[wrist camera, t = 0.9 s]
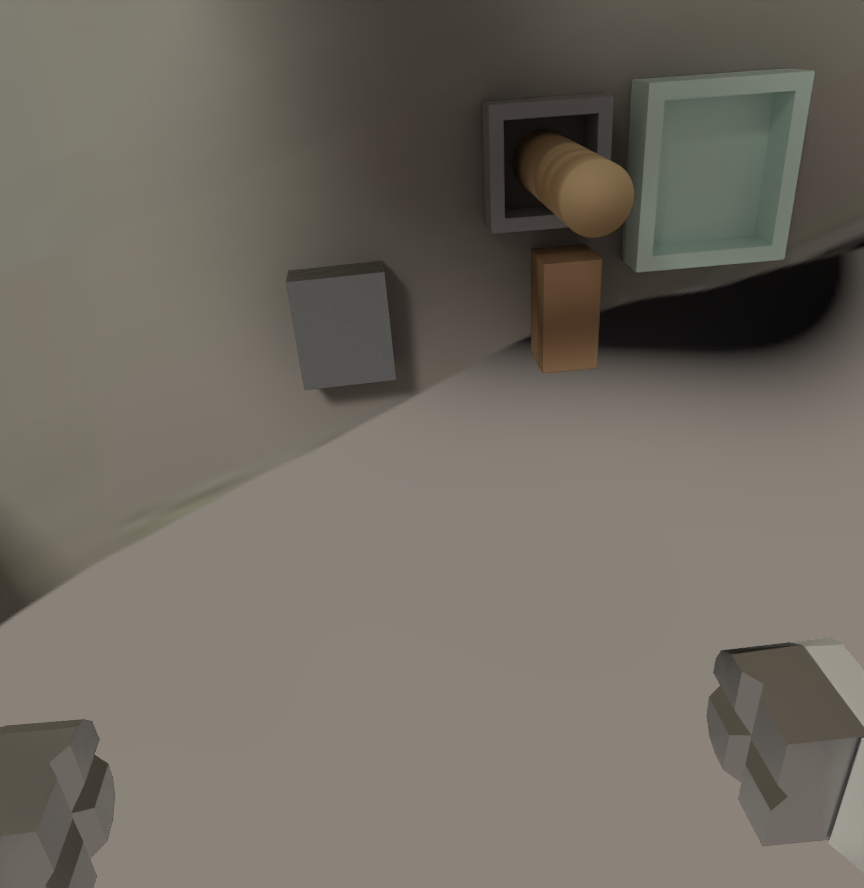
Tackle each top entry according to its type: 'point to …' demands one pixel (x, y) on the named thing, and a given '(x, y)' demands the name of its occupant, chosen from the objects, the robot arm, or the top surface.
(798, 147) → the tray
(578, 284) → the block
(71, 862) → the robot arm
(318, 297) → the steel block
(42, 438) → the top surface
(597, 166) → the dowel
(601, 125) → the socket
